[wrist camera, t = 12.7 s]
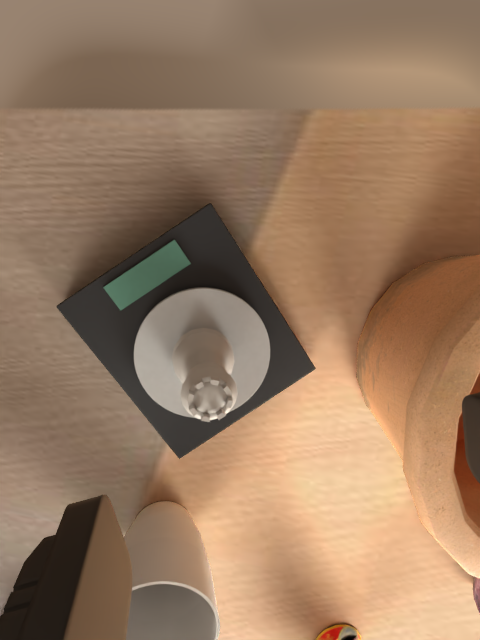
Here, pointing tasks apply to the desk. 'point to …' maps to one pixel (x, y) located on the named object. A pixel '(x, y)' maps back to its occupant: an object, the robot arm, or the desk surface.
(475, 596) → the mineral specimen
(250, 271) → the scale
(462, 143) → the desk surface
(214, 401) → the rook chess piece
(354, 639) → the magic lamp
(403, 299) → the pottery
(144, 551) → the cup
